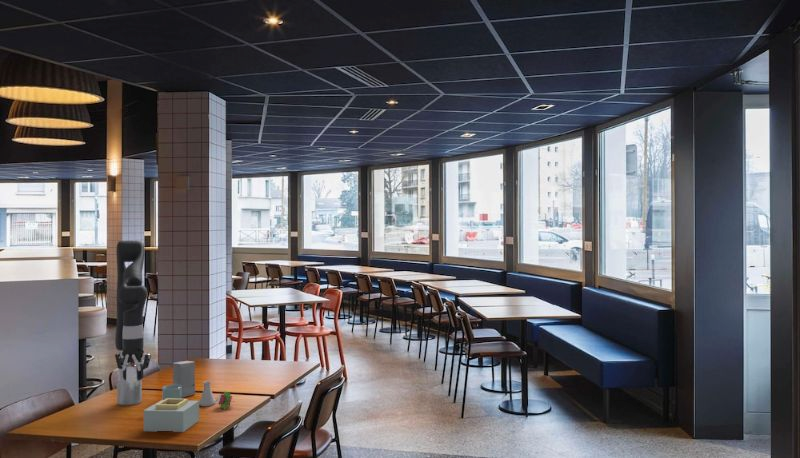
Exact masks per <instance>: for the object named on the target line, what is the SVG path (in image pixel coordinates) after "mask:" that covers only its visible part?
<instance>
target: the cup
mask: <svg viewBox="0 0 800 458" xmlns="http://www.w3.org/2000/svg"><path fill="white" fill-rule="evenodd" d="M161 389H162V390H161V397H162V399H161V400H165V399H166V398H175V399H182V398H181V385H173V384H168V385H163V386H162V388H161Z"/></svg>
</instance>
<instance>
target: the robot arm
mask: <svg viewBox="0 0 800 458" xmlns="http://www.w3.org/2000/svg"><path fill="white" fill-rule="evenodd" d="M145 249H146V248H145V244H144V242H143V241H140V240H120V241H118V242H117V243H116V251H115V252H116V274H117V279H116V280H117V281H116V325H115V337H114V339H115V348H116V350H117V351H122V352H118V353H115V354H114V357H115V362H116V366H117V369H118V382H116V403H117V404H116V405H120V406H133V405H139V404H140V403H142V397H143V396H142V394H143V393H142V392H143V391H142V383H143V382H142V381H143V378H144V370H146V369H148V368H149V366H150V361H151V358H152V353H146V352H145V351H144V343H145V342H144V326H143V325H144V324H143V323H144V322H143V321H144V320H143V319H144V309H145V305H146V302H147V299H148V294H149V293H148V289H147V287H146V286H144V285H143V267H144V262H145V253H146V252H145V251H146V250H145ZM126 263H130V264H129V265H128V266H127V267H126ZM131 362H133V363H135V365H136V366H137V368H138V380H140V388H139V389H136V390H126V366H127V365H131Z"/></svg>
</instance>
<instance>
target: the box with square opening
mask: <svg viewBox="0 0 800 458" xmlns="http://www.w3.org/2000/svg"><path fill="white" fill-rule="evenodd" d="M199 402H200V400H189V398H181V399H175V398H166V399H165V400H162V399H160V400H159V401H157V402H156V403H154V404H152V405H150V406H149V407H147V408H146V409H144V410H143V432H157V431H173V432H172V433H184V432H185V431H187V430H189V429H190V427H192V426H193V425H195V424H196V423H197V422H199V421H200V405H199Z"/></svg>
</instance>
